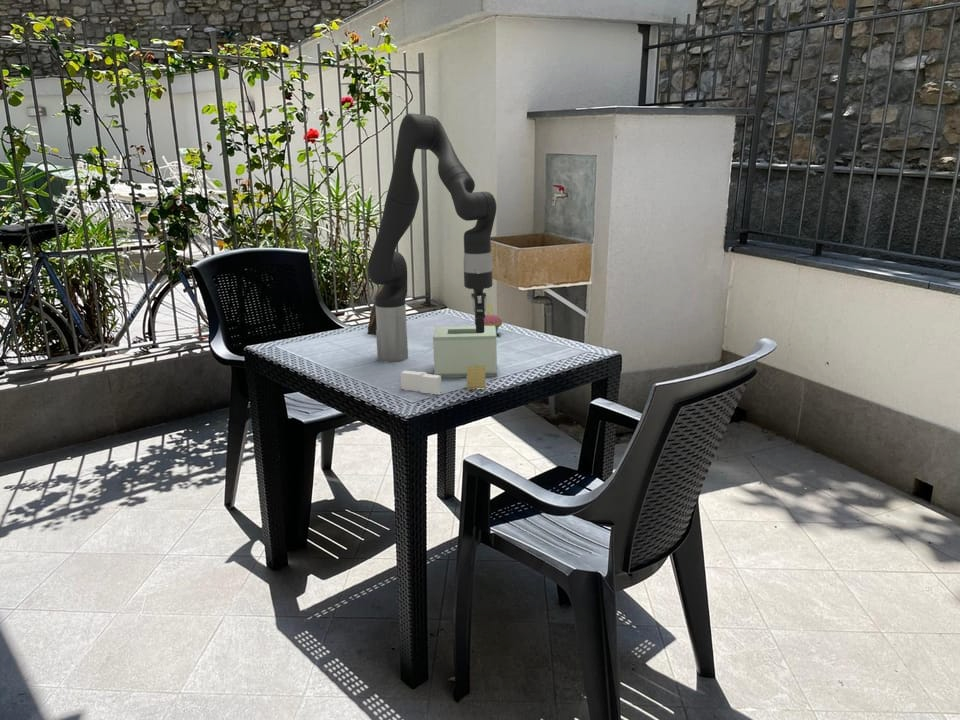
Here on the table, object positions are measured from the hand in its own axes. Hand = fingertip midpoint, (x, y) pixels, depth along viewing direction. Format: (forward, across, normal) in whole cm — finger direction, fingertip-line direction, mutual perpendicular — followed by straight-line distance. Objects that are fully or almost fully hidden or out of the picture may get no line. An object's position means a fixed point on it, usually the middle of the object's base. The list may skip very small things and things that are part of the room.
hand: (479, 328), depth 201 cm
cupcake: (+16, -56, +5) cm, 58 cm away
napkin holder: (+17, +3, -16) cm, 24 cm away
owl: (+16, -64, -32) cm, 73 cm away
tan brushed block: (+16, +1, -1) cm, 17 cm away
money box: (+16, -15, -4) cm, 23 cm away
